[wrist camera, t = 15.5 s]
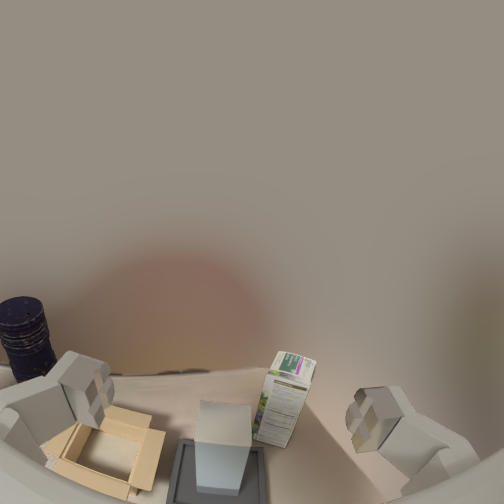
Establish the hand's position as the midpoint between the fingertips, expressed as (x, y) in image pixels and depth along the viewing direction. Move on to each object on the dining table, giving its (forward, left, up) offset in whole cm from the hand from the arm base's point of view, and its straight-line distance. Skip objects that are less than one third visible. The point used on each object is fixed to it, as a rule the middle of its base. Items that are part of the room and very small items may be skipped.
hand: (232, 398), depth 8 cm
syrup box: (+8, +21, -30) cm, 37 cm away
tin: (0, +11, -29) cm, 31 cm away
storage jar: (-34, +21, -30) cm, 50 cm away
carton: (-15, +11, -30) cm, 35 cm away
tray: (0, +11, -30) cm, 32 cm away
